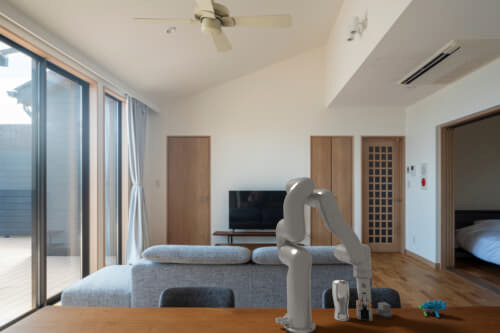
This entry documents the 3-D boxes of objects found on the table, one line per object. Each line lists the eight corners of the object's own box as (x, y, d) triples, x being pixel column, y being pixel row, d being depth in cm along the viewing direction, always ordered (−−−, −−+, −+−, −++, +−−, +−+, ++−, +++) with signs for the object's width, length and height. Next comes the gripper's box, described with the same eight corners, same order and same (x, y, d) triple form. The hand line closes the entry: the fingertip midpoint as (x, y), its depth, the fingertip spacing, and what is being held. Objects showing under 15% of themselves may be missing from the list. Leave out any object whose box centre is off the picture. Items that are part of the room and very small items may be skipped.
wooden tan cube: (372, 320, 120) (371, 305, 121) (357, 319, 122) (357, 304, 123) (370, 315, 126) (370, 301, 126) (356, 314, 127) (356, 299, 128)
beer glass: (350, 322, 119) (349, 284, 120) (333, 320, 121) (332, 283, 122) (349, 315, 125) (348, 280, 127) (333, 314, 127) (331, 279, 129)
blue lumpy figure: (444, 308, 129) (446, 297, 123) (450, 322, 124) (453, 311, 118) (417, 310, 131) (418, 299, 126) (422, 323, 127) (423, 312, 121)
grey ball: (383, 319, 122) (382, 306, 123) (373, 313, 128) (372, 301, 129) (396, 317, 124) (395, 305, 124) (385, 312, 130) (385, 300, 130)
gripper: (373, 278, 117) (376, 325, 115) (369, 269, 133) (371, 310, 131) (354, 277, 119) (356, 323, 117) (352, 268, 135) (354, 308, 133)
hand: (364, 316), depth 124 cm, fingers closed on wooden tan cube, 5 cm apart
